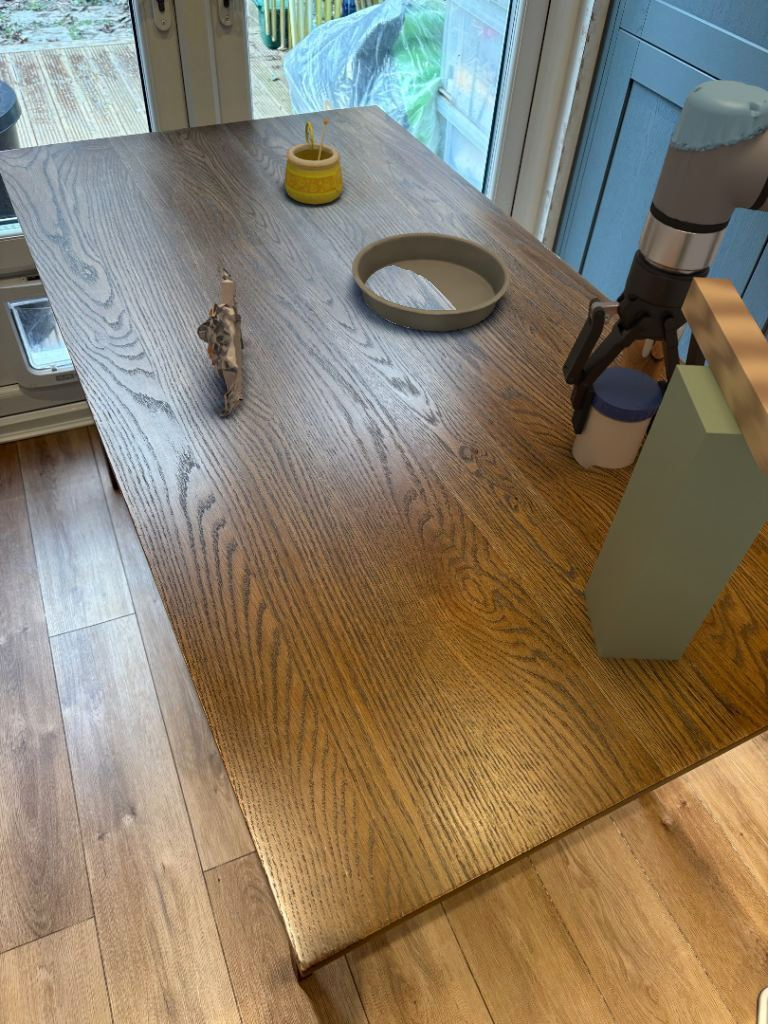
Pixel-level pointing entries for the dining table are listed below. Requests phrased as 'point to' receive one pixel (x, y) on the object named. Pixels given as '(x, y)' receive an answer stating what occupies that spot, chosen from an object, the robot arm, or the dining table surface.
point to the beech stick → (733, 356)
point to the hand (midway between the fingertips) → (612, 428)
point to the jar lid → (626, 394)
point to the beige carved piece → (225, 341)
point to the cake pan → (436, 278)
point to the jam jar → (608, 441)
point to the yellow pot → (313, 171)
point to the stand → (677, 525)
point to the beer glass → (647, 356)
